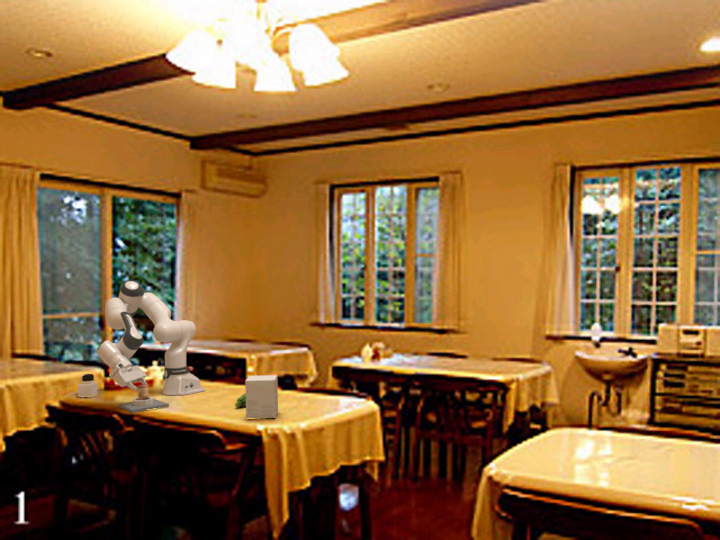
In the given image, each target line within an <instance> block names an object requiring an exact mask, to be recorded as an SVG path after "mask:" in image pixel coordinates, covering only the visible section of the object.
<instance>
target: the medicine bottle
mask: <svg viewBox="0 0 720 540" xmlns="http://www.w3.org/2000/svg"><path fill="white" fill-rule="evenodd" d="M80 377H81V378H80V379H81V382H80V383H79V384H78V385H77V397H78V396H83V397H84V396H86V397H87V396H93V395H96V394H98V382H97V381H94V380H95V376H94V374H93V373H84V374H82V375H81V376H80Z"/></svg>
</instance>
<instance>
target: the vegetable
mask: <svg viewBox="0 0 720 540" xmlns="http://www.w3.org/2000/svg"><path fill="white" fill-rule="evenodd" d="M234 406H235V407H238V408H239V407H244V408H246V407H245V406H246V392H245V393H243V394H242V395H241V396H239V397H237V399H236V402H235V404H234Z"/></svg>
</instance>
